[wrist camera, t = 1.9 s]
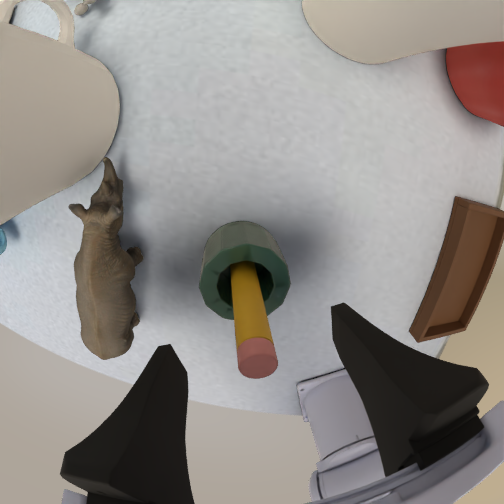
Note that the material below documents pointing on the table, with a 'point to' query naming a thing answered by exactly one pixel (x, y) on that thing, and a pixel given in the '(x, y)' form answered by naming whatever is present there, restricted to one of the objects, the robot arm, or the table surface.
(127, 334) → the rhino figurine
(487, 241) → the tray
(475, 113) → the flower pot
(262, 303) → the pencil
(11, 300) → the table surface
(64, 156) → the mug
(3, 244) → the teapot
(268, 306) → the pencil pot
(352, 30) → the cup
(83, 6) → the molecular model
